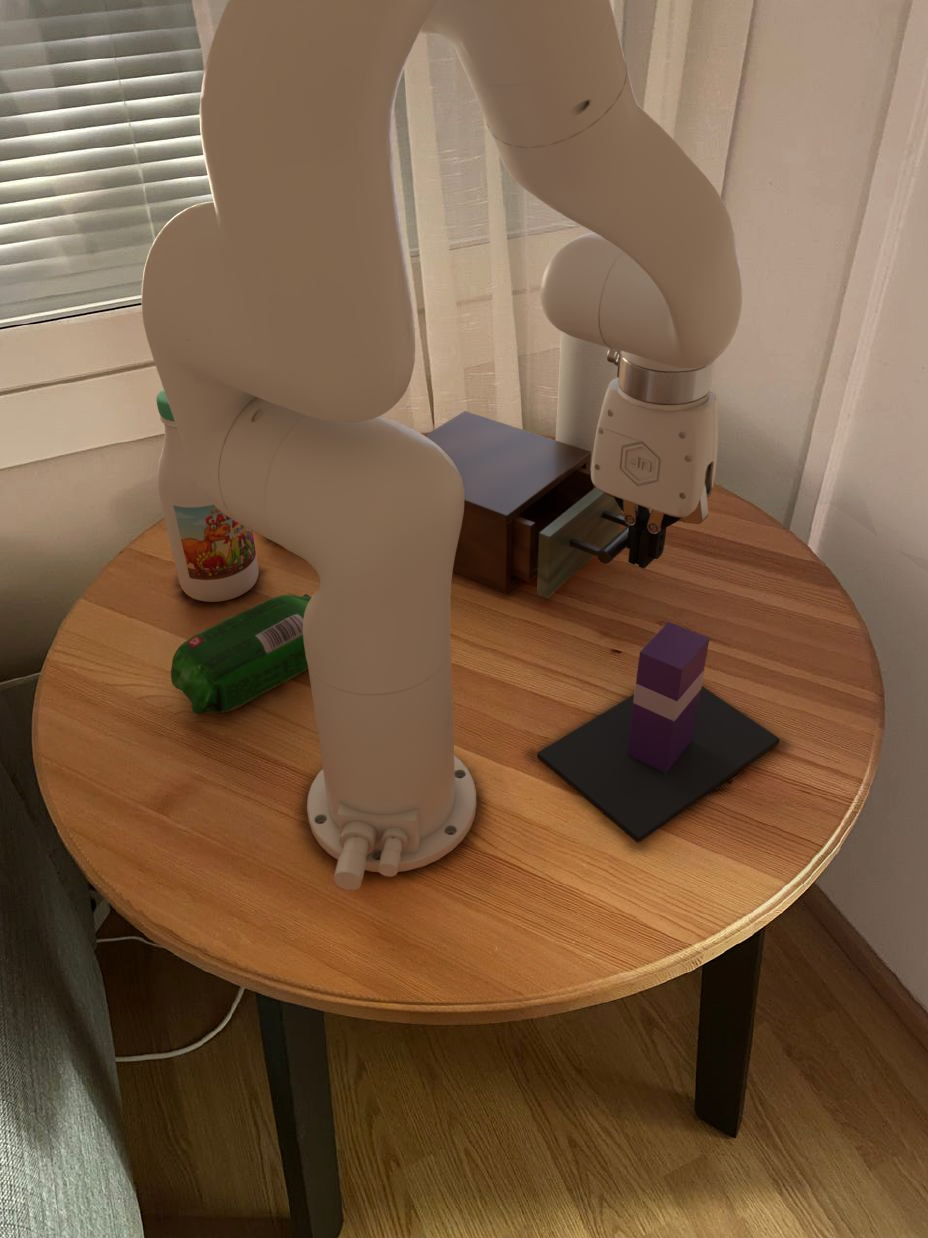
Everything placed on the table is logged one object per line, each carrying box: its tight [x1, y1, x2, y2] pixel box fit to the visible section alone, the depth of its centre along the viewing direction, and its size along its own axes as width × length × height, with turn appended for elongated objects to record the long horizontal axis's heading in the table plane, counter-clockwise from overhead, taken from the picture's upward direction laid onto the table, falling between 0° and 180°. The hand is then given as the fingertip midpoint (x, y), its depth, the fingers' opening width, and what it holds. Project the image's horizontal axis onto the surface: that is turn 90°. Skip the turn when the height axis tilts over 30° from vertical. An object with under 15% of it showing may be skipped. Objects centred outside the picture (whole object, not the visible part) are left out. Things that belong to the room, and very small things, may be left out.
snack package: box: [170, 593, 312, 716], centre depth 86 cm, size 7×16×5 cm, turn 131°
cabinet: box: [424, 410, 591, 594], centre depth 102 cm, size 16×15×9 cm
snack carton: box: [627, 621, 710, 773], centre depth 76 cm, size 4×4×10 cm
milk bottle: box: [155, 388, 260, 603], centre depth 93 cm, size 8×8×20 cm
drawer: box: [511, 467, 629, 599], centre depth 99 cm, size 19×14×7 cm
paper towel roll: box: [555, 331, 618, 470], centre depth 104 cm, size 7×6×21 cm
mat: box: [536, 685, 780, 844], centre depth 79 cm, size 16×11×1 cm
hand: (643, 558), depth 94 cm, fingers closed
